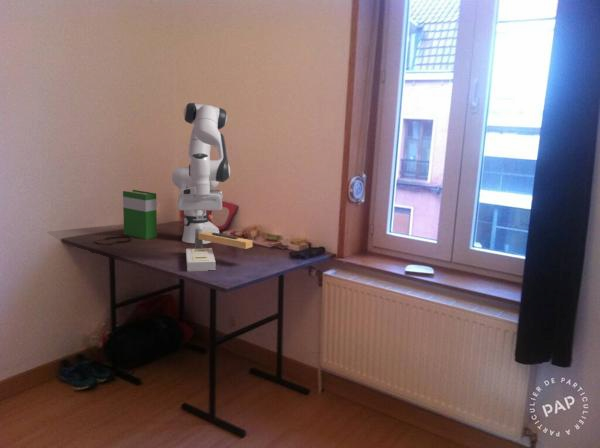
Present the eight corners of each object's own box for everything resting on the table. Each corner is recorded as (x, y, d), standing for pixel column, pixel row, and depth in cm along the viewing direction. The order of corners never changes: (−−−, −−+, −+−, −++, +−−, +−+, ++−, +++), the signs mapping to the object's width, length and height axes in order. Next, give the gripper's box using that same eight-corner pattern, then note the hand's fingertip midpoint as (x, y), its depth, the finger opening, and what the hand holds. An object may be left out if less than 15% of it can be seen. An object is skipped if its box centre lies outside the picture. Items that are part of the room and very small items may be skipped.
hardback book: (123, 234, 287) (122, 191, 283) (134, 232, 294) (133, 189, 289) (146, 239, 278) (145, 194, 274) (156, 237, 285) (156, 193, 280)
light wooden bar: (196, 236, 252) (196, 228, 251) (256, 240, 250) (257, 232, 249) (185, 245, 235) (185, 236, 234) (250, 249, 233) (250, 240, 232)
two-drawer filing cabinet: (185, 254, 252) (185, 237, 251) (211, 253, 255) (211, 237, 254) (187, 271, 225) (187, 253, 223) (215, 270, 228) (215, 252, 226)
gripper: (222, 189, 242) (222, 218, 245) (177, 188, 238) (177, 218, 240) (223, 191, 236) (223, 221, 239) (177, 190, 232) (177, 221, 234)
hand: (199, 219), depth 240 cm, fingers closed
